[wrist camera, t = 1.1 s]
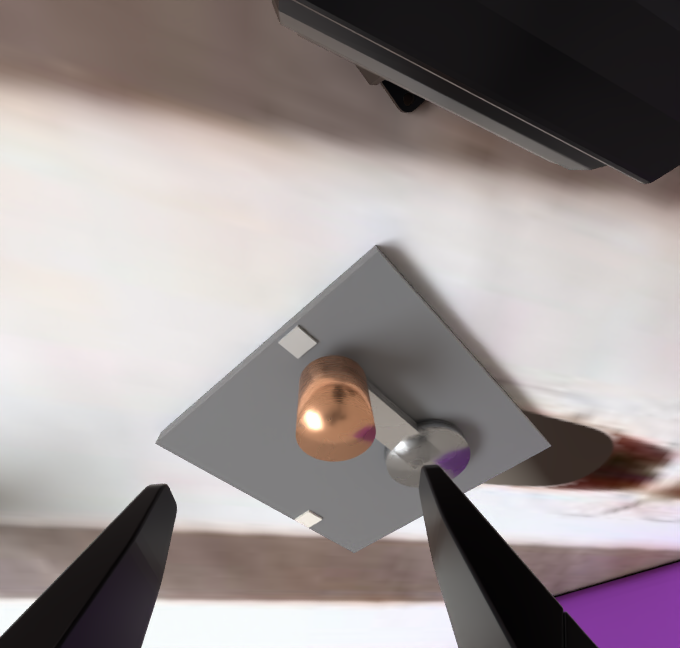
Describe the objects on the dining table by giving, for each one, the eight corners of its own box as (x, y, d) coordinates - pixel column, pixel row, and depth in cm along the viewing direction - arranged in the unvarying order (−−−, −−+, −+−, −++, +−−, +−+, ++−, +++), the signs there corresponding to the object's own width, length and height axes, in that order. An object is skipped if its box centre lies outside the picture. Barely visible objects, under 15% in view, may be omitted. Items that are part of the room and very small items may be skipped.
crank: (480, 449, 26) (513, 514, 22) (415, 486, 28) (433, 553, 23) (346, 323, 20) (354, 378, 16) (275, 381, 22) (264, 445, 17)
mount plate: (375, 245, 19) (378, 251, 18) (544, 435, 27) (552, 447, 26) (161, 432, 25) (154, 445, 24) (353, 541, 33) (354, 554, 32)
